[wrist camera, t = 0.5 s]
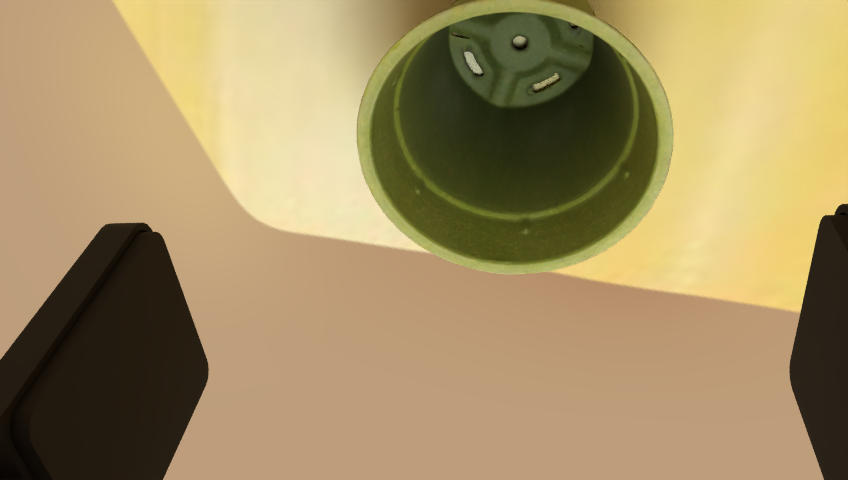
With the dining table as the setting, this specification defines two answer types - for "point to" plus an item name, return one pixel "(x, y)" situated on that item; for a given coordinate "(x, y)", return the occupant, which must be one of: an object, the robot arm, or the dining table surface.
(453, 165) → the plant pot
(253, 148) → the dining table surface
